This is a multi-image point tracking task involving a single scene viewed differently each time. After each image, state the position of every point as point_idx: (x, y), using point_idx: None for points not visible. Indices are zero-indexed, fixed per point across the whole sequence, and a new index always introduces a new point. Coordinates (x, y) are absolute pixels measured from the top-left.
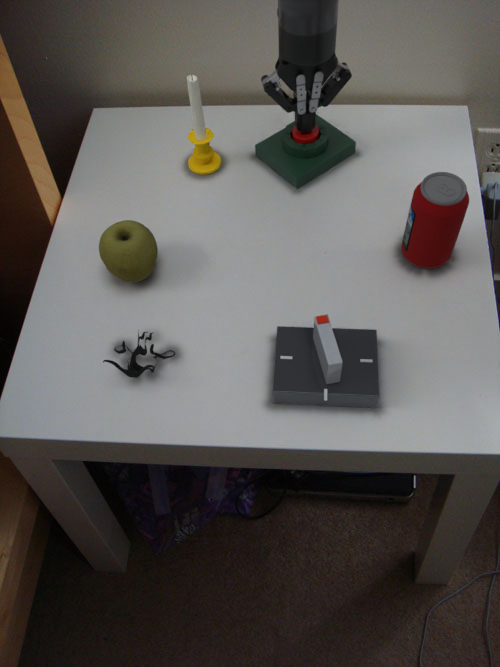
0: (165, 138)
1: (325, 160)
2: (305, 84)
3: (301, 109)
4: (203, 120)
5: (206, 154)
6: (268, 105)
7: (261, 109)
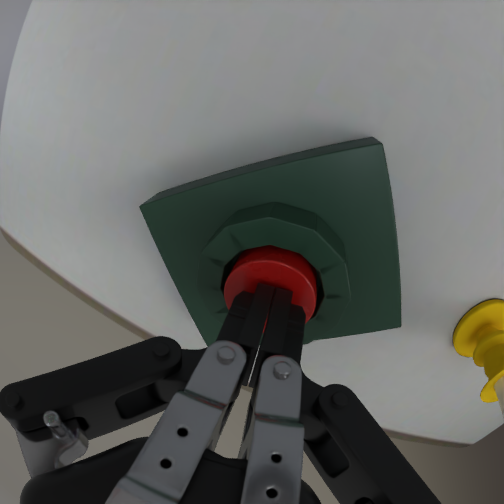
0: (472, 394)
1: (252, 172)
2: (229, 498)
3: (282, 377)
4: None
5: (500, 340)
6: None
7: None
